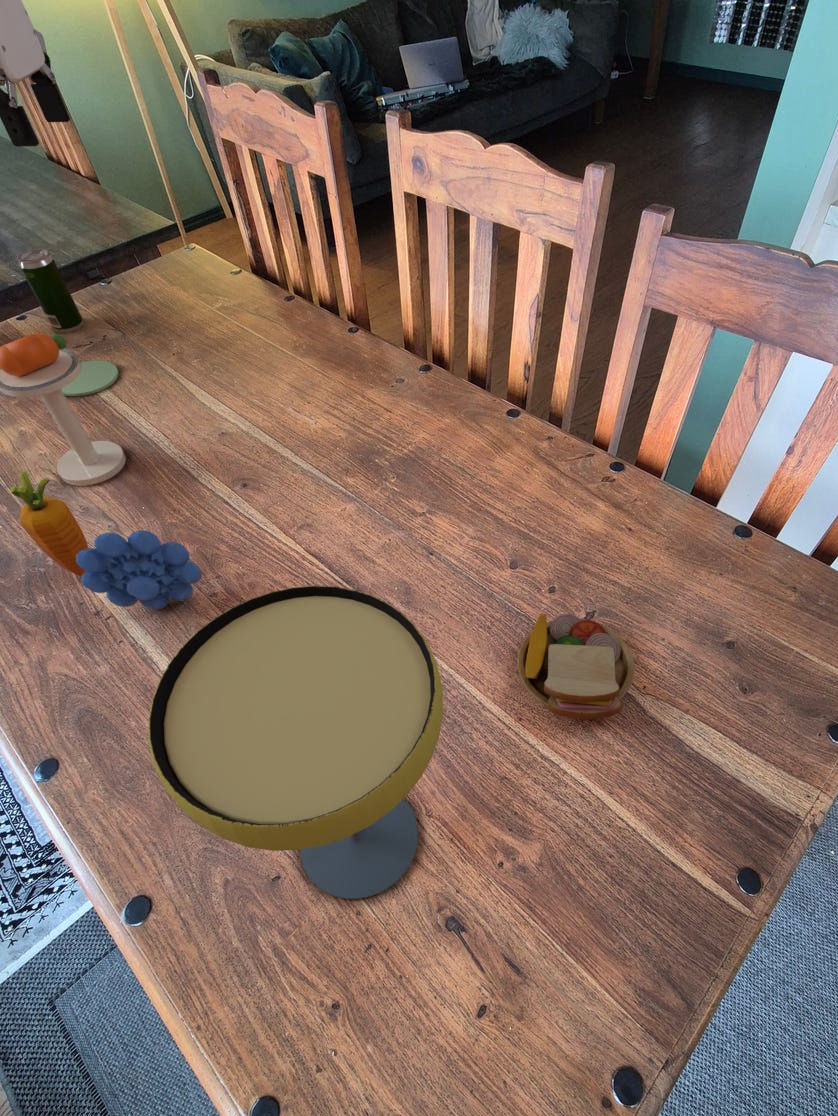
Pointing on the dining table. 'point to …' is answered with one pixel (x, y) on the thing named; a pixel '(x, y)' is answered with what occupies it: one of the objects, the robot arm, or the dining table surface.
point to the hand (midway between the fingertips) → (43, 133)
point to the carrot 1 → (30, 353)
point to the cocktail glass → (303, 731)
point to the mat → (92, 378)
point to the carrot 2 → (51, 525)
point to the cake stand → (67, 421)
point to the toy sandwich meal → (576, 667)
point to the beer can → (50, 290)
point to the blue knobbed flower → (138, 570)
